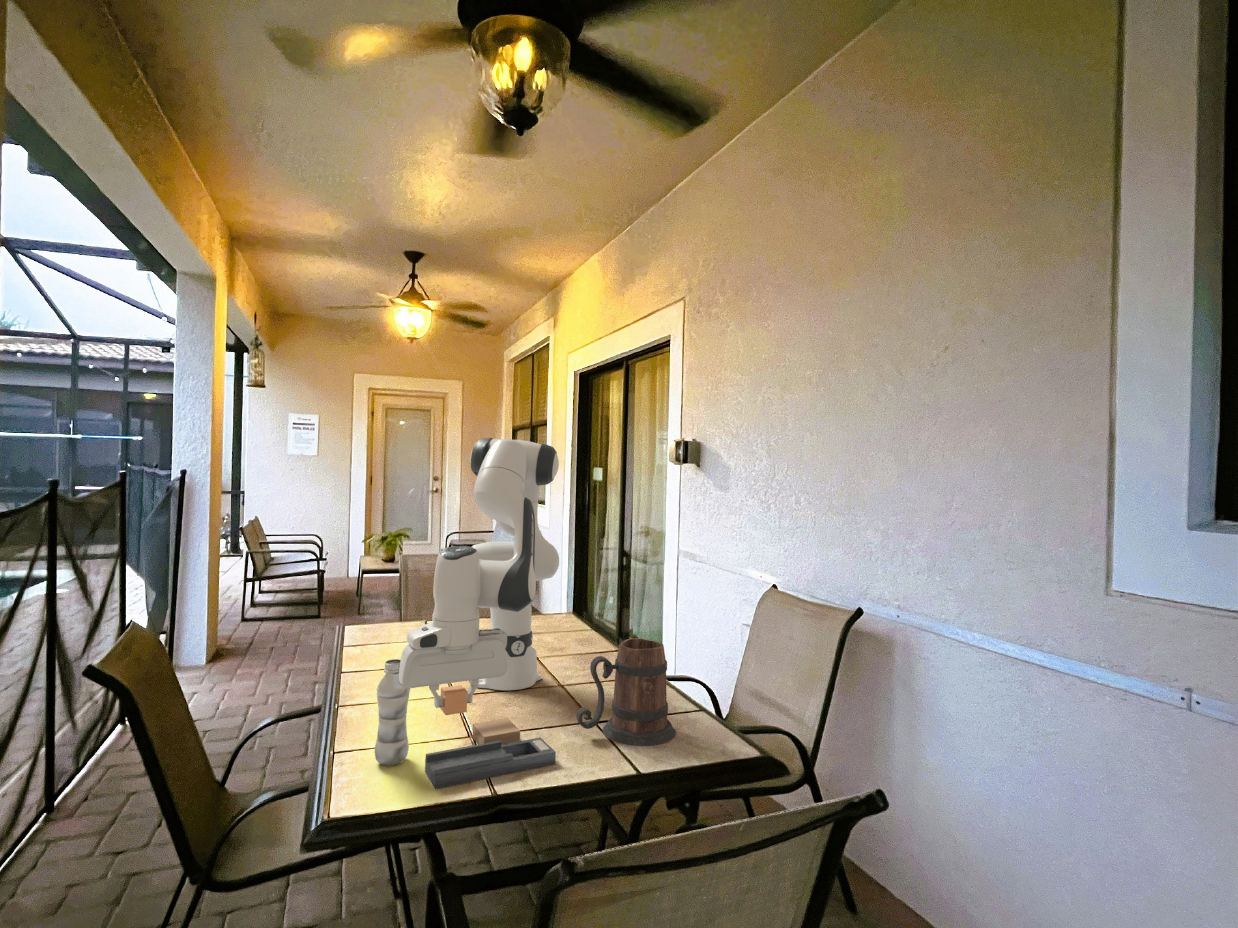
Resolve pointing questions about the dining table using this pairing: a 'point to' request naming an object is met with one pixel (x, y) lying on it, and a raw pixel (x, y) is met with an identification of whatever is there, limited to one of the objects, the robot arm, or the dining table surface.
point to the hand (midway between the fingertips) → (453, 704)
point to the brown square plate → (496, 732)
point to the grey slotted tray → (486, 761)
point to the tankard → (634, 695)
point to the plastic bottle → (392, 717)
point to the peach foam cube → (454, 699)
